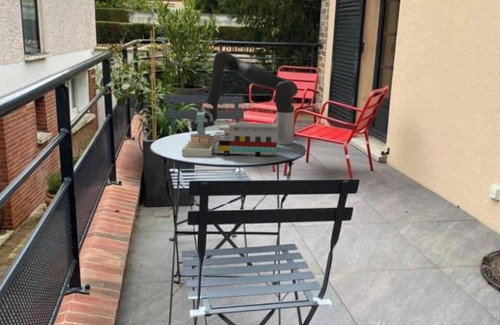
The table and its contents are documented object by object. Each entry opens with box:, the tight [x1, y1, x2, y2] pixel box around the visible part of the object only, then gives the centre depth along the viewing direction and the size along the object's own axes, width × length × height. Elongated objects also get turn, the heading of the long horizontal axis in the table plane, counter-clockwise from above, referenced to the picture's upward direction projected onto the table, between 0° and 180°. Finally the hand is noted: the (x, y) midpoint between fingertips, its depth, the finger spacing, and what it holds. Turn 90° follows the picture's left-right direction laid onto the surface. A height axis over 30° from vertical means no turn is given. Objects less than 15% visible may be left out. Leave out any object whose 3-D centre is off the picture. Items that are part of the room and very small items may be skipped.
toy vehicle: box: [213, 122, 278, 158], centre depth 239 cm, size 8×30×15 cm, turn 84°
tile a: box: [200, 137, 209, 143], centre depth 249 cm, size 4×4×2 cm
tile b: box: [190, 137, 200, 143], centre depth 249 cm, size 4×4×2 cm
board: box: [187, 135, 217, 149], centre depth 256 cm, size 18×12×4 cm, turn 178°
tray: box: [181, 143, 214, 158], centre depth 241 cm, size 11×14×3 cm
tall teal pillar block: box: [190, 111, 212, 140], centre depth 251 cm, size 5×10×13 cm, turn 88°
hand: (200, 125), depth 248 cm, fingers closed on tall teal pillar block, 3 cm apart
